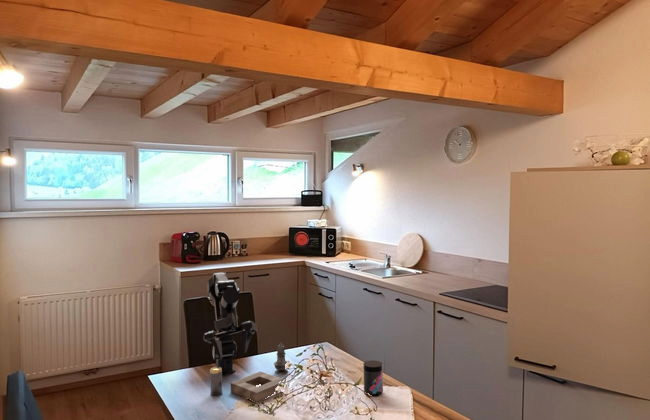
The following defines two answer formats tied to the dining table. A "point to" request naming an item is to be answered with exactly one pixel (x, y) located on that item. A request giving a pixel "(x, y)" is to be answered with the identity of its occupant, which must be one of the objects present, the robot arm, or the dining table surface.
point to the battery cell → (216, 381)
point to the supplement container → (373, 377)
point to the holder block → (249, 389)
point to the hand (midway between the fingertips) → (232, 356)
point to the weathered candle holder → (280, 360)
